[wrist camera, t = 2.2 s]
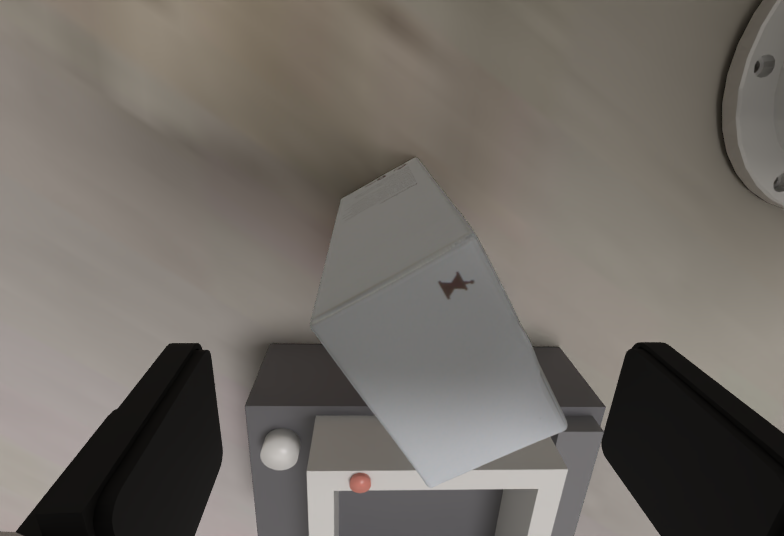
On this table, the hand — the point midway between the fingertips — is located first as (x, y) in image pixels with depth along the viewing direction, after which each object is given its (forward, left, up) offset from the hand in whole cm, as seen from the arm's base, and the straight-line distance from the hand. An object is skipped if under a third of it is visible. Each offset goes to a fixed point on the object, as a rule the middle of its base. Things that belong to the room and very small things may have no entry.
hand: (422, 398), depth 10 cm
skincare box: (-1, 0, -13) cm, 13 cm away
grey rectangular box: (-2, +12, -12) cm, 17 cm away
